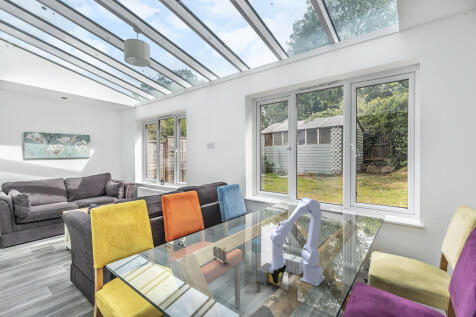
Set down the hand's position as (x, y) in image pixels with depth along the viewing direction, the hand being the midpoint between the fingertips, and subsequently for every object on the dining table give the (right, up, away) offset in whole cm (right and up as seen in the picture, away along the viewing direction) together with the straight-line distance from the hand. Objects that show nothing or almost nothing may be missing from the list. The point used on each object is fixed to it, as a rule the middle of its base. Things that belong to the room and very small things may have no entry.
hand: (278, 281), depth 117 cm
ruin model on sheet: (-33, -3, +29) cm, 44 cm away
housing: (-6, -2, +5) cm, 7 cm away
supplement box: (+6, +2, +18) cm, 19 cm away
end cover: (-3, -1, +2) cm, 4 cm away
